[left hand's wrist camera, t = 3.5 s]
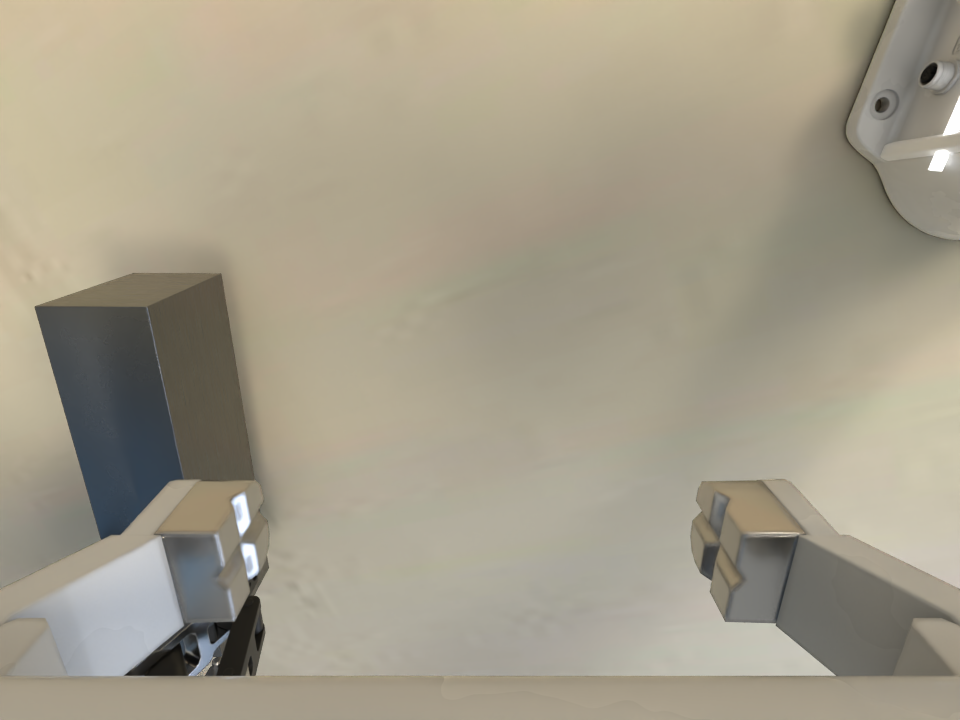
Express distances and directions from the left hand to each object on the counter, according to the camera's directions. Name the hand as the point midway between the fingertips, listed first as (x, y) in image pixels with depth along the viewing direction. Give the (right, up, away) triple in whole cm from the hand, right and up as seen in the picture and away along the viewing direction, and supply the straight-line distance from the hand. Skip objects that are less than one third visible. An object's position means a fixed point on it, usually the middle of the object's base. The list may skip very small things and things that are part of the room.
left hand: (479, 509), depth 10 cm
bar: (-19, -2, +28) cm, 33 cm away
